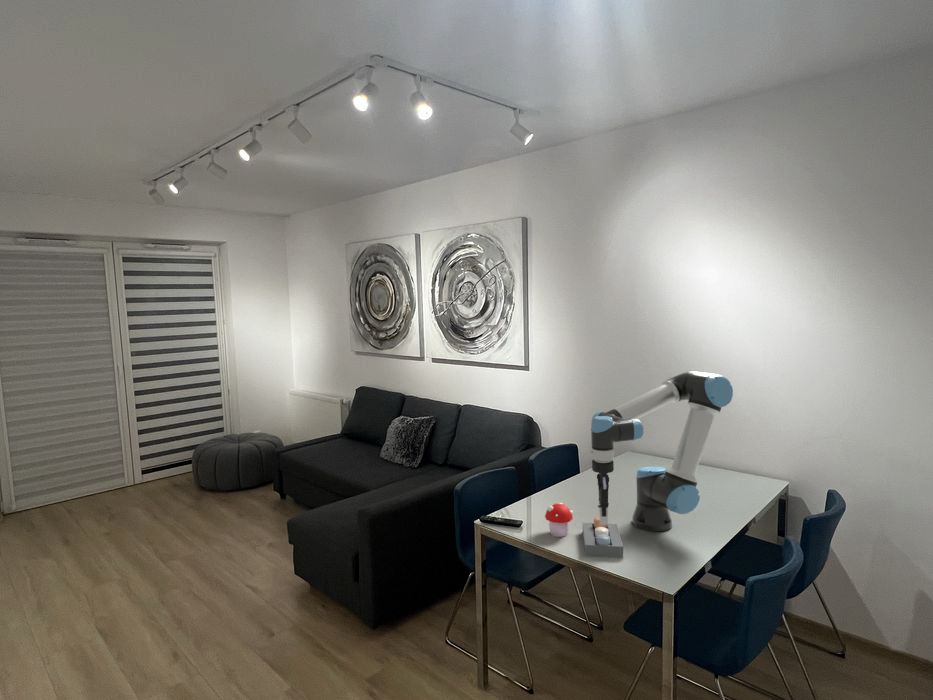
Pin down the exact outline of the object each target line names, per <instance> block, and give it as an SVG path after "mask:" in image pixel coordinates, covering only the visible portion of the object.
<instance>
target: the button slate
mask: <svg viewBox="0 0 933 700" xmlns="http://www.w3.org/2000/svg"><path fill="white" fill-rule="evenodd" d="M596 545H610V537H609V536H608V535H604V534H600V535H597V536H596Z"/></svg>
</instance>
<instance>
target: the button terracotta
mask: <svg viewBox="0 0 933 700" xmlns="http://www.w3.org/2000/svg"><path fill="white" fill-rule="evenodd" d="M593 523H594V530H595V528H597V527H604V528H607V525H600V516H596V517H593Z"/></svg>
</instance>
